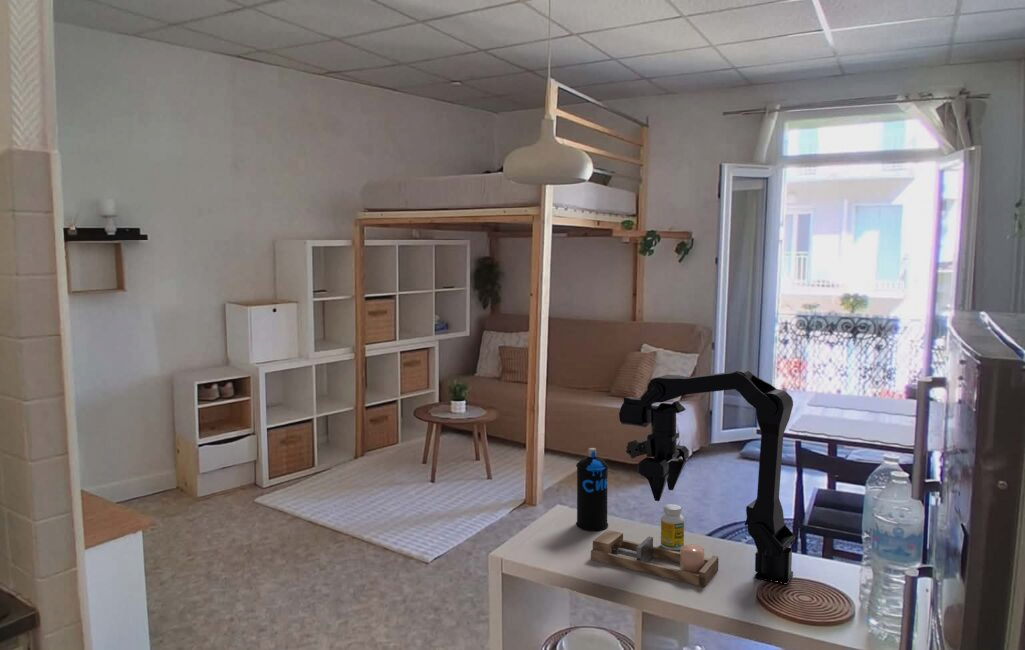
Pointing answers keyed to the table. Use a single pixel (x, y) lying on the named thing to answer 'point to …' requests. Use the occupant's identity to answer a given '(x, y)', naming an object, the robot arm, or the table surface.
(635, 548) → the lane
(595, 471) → the aerosol can
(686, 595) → the table surface
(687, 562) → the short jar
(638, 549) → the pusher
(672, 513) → the supplement bottle
